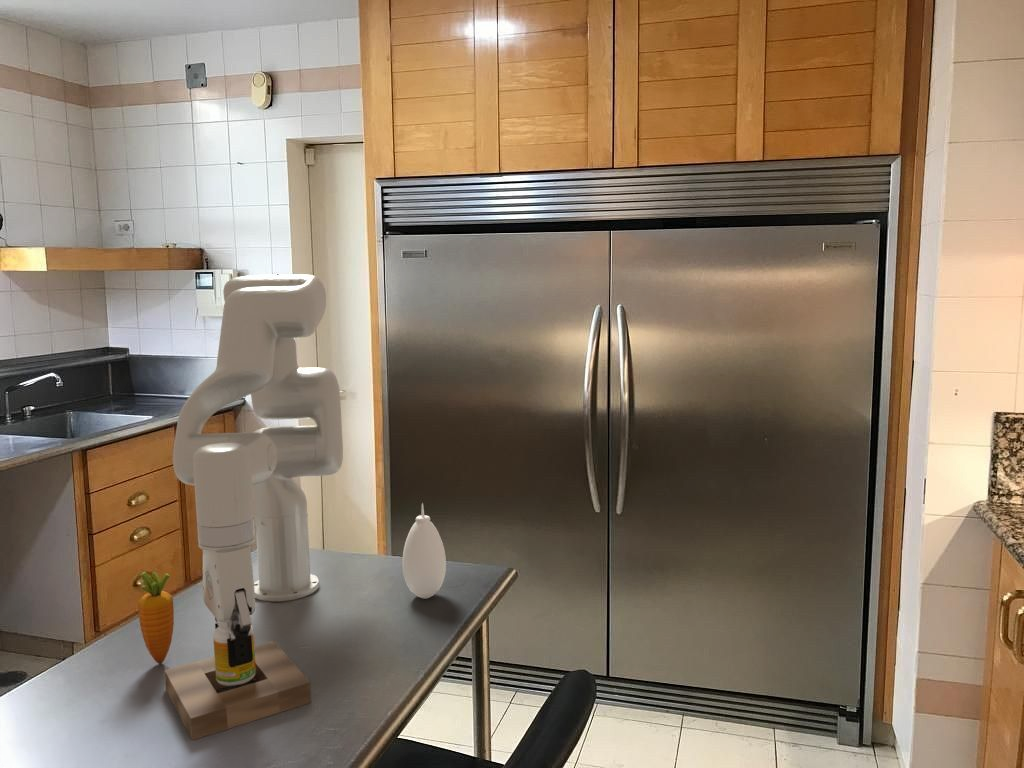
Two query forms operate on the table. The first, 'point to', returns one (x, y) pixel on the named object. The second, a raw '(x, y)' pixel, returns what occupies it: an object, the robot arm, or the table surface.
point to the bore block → (235, 692)
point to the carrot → (156, 616)
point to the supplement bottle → (222, 668)
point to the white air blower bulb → (424, 558)
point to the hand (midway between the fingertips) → (234, 654)
